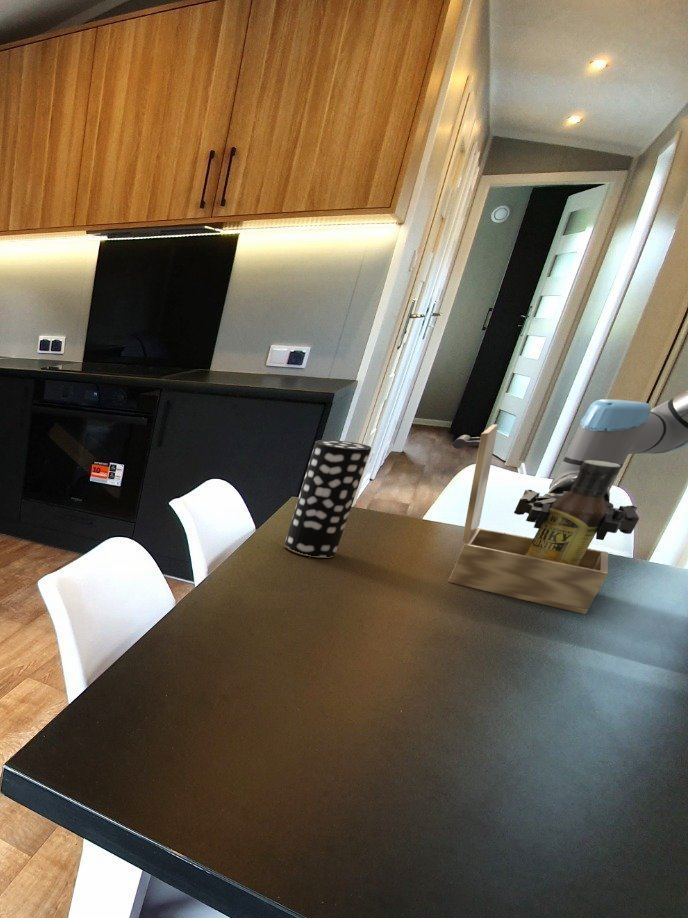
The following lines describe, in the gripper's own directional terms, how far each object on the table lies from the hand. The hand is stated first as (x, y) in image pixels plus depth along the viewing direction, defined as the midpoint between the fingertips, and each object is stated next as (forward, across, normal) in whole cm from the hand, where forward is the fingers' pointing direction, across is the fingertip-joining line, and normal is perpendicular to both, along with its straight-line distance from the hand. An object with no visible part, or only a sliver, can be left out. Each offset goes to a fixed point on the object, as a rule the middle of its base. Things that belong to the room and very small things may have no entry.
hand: (571, 525), depth 96 cm
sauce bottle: (-5, 0, -11) cm, 12 cm away
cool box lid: (-5, +12, +3) cm, 13 cm away
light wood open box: (-5, +2, -12) cm, 14 cm away
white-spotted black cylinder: (+3, +31, -13) cm, 34 cm away
